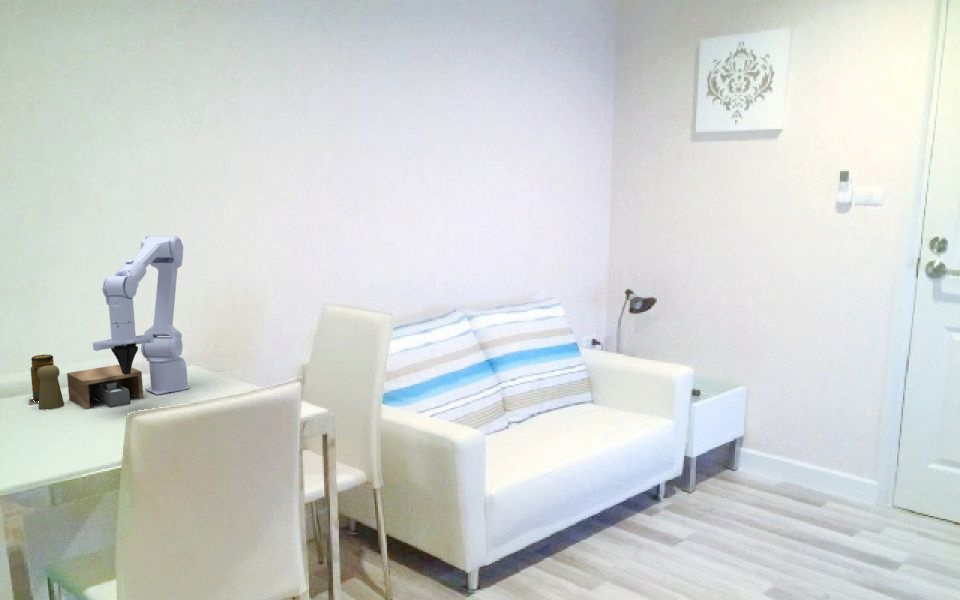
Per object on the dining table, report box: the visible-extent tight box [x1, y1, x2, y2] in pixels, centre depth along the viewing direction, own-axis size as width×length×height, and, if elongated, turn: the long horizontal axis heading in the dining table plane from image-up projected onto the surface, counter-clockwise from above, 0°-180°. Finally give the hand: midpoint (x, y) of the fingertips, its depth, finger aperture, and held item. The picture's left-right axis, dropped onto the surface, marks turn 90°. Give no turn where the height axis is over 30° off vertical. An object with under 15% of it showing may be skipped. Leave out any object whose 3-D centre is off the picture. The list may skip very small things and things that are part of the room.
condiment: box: [28, 354, 56, 405], centre depth 214 cm, size 7×8×12 cm
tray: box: [91, 380, 131, 409], centre depth 212 cm, size 5×14×5 cm, turn 45°
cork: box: [37, 365, 65, 410], centre depth 207 cm, size 6×6×11 cm
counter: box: [66, 363, 144, 410], centre depth 214 cm, size 15×13×8 cm
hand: (126, 373), depth 202 cm, fingers closed
